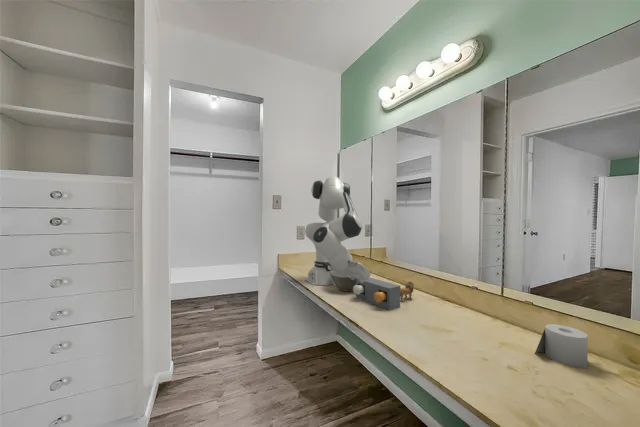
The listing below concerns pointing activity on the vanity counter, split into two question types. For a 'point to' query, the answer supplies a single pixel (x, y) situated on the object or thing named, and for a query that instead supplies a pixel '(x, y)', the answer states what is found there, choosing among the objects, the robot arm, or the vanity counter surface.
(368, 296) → the control box
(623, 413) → the vanity counter surface
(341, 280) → the ceramic bowl
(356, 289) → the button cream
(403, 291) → the lion figurine
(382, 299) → the button orange
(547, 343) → the toilet tissue
